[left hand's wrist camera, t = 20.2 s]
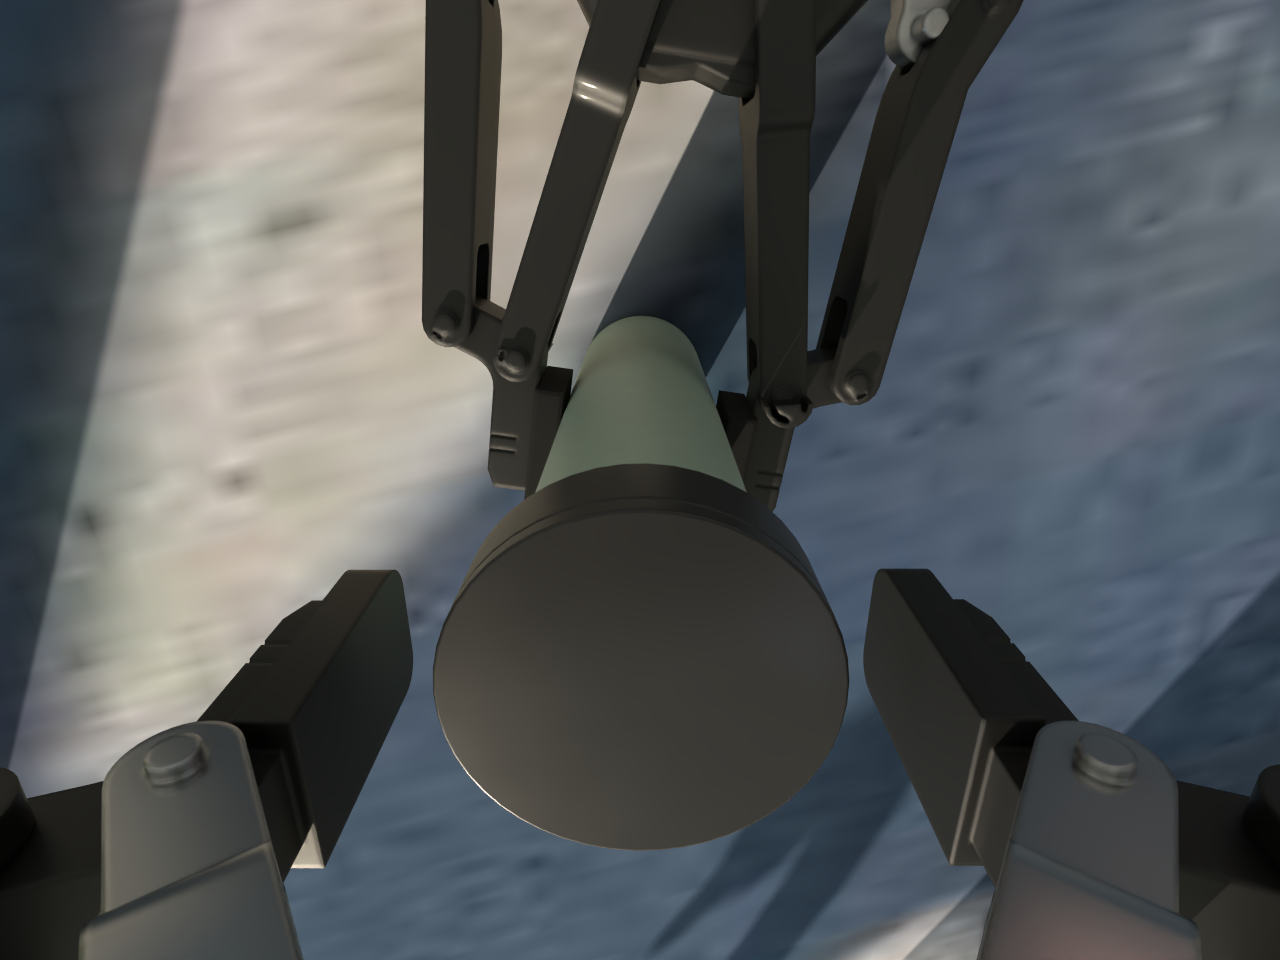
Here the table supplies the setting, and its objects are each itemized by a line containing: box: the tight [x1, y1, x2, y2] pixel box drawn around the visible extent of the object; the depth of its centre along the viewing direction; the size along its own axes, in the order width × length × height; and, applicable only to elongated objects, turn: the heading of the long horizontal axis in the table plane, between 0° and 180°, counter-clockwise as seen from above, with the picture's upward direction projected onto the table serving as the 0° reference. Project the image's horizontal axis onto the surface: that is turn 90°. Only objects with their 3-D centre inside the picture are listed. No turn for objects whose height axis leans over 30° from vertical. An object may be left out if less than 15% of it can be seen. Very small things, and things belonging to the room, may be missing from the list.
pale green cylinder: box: [535, 316, 746, 493], centre depth 18 cm, size 4×4×17 cm
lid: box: [433, 463, 849, 850], centre depth 10 cm, size 5×5×2 cm
